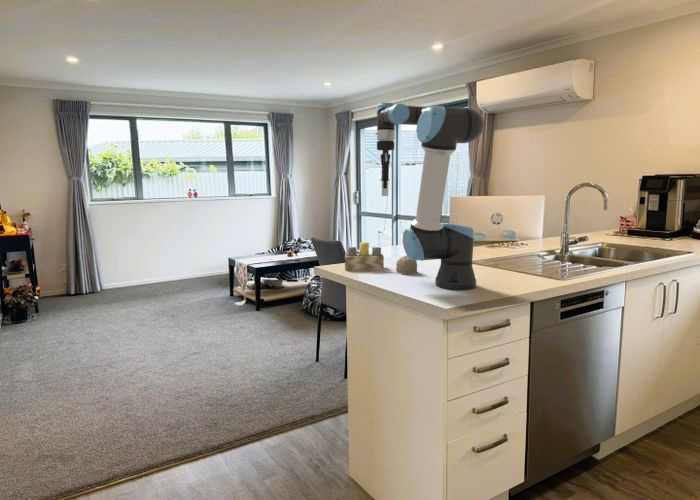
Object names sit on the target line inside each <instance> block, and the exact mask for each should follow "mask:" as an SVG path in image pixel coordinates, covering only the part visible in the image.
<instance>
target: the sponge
mask: <svg viewBox="0 0 700 500" xmlns="http://www.w3.org/2000/svg"><path fill="white" fill-rule="evenodd" d="M395 267H396V269H395V271H396V273H397V274H399V275H415V274H417V273H418V262H417V260H411V259H410V258H409V257H408V256H407V255H404V256H401V257H400V258H399V259H397V261H396V266H395Z"/></svg>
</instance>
